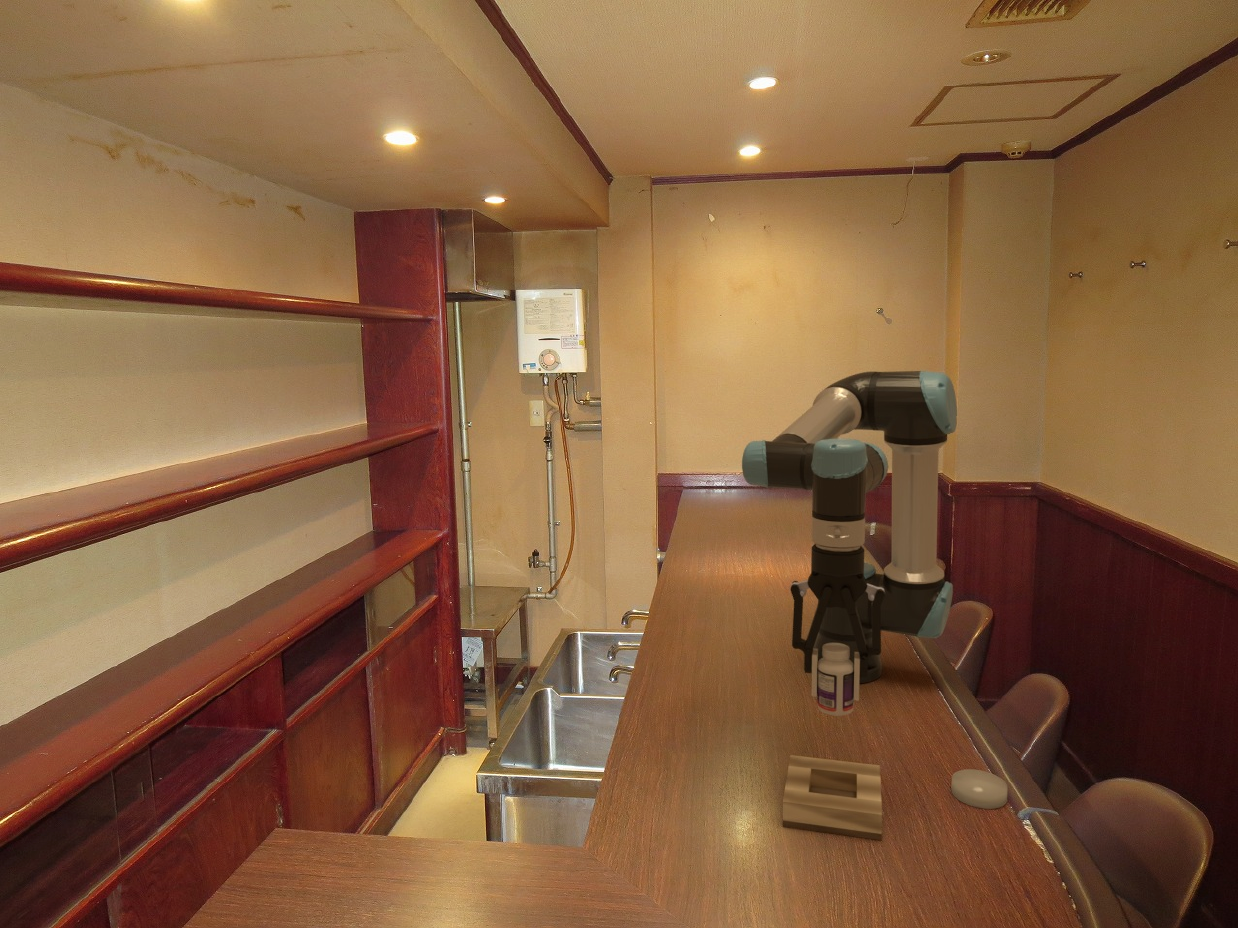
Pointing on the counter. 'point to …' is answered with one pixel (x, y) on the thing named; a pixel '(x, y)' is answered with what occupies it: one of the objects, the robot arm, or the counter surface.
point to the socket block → (833, 797)
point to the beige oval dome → (979, 789)
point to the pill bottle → (835, 680)
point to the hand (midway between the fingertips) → (835, 694)
